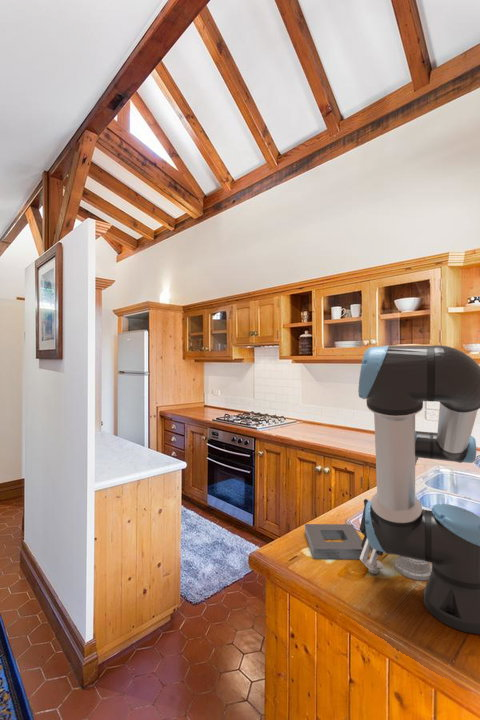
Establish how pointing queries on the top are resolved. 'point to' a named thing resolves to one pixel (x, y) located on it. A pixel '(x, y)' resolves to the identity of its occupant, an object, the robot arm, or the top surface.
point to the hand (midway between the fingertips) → (367, 563)
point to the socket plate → (333, 549)
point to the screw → (377, 566)
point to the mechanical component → (413, 568)
